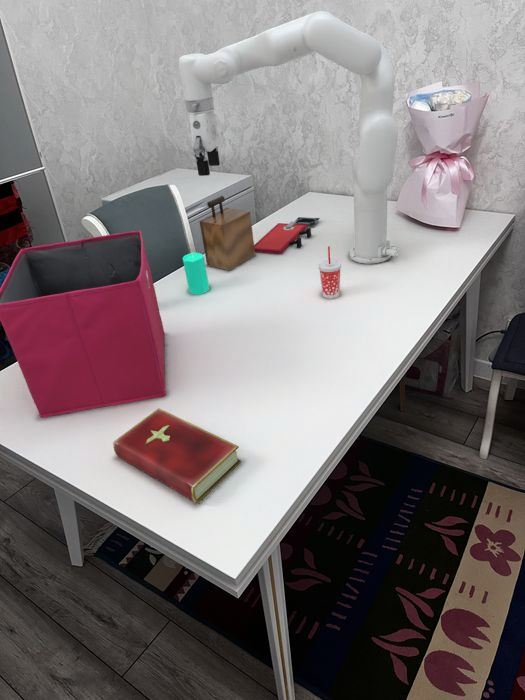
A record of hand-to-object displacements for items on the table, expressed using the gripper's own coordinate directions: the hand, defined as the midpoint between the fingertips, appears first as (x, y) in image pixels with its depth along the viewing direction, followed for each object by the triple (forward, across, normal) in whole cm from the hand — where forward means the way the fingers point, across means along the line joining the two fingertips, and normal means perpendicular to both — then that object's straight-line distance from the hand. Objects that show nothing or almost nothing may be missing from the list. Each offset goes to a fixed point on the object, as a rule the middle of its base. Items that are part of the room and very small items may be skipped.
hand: (209, 170), depth 158 cm
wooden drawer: (+20, +3, -5) cm, 21 cm away
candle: (+31, -15, +3) cm, 34 cm away
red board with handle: (+30, +25, -16) cm, 43 cm away
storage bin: (+31, -58, +12) cm, 67 cm away
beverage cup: (+30, -18, -36) cm, 50 cm away
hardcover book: (+30, -84, -15) cm, 90 cm away
